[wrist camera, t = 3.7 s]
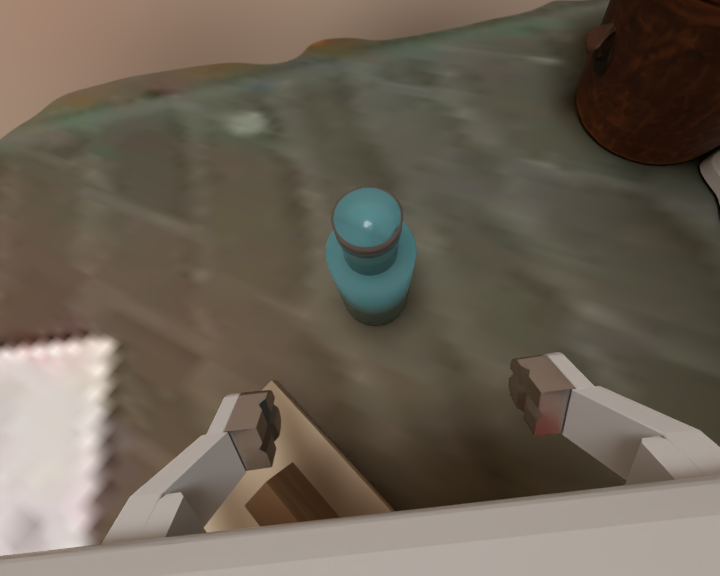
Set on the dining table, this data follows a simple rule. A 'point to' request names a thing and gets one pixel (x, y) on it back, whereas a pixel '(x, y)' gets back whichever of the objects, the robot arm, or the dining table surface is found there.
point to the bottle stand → (298, 479)
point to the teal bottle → (371, 254)
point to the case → (654, 80)
